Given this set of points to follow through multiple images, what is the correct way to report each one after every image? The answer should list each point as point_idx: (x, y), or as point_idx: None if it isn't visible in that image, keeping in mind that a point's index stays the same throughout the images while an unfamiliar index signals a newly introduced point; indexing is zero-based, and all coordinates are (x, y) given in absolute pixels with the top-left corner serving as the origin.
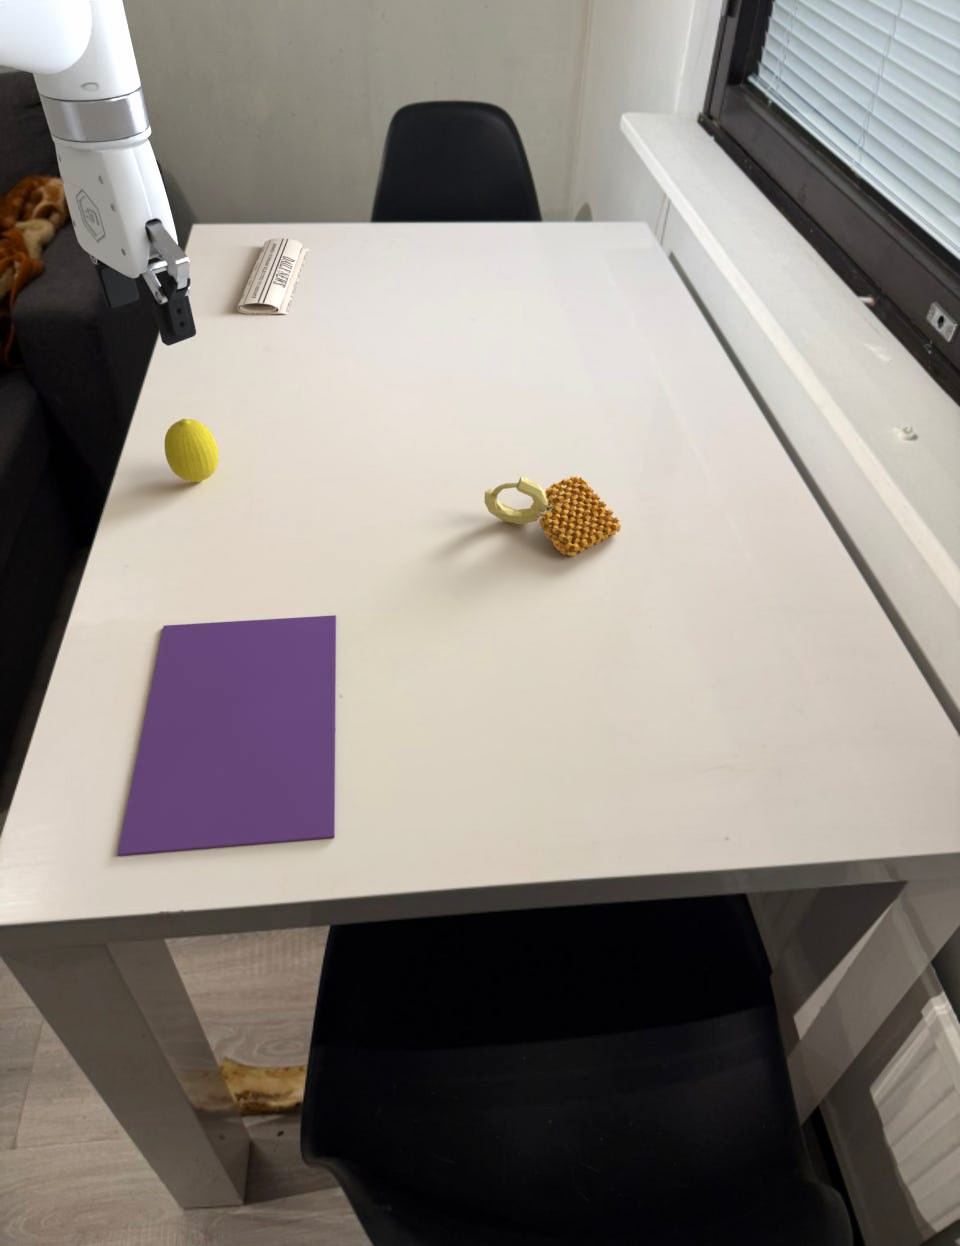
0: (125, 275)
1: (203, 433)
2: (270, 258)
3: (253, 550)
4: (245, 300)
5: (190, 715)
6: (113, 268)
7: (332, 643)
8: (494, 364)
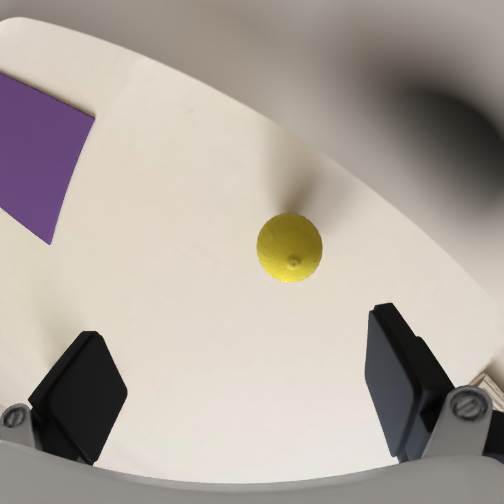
0: (386, 415)
1: (271, 272)
2: (500, 407)
3: (145, 227)
4: (485, 382)
5: (20, 116)
6: (59, 464)
7: (29, 228)
8: (280, 470)
